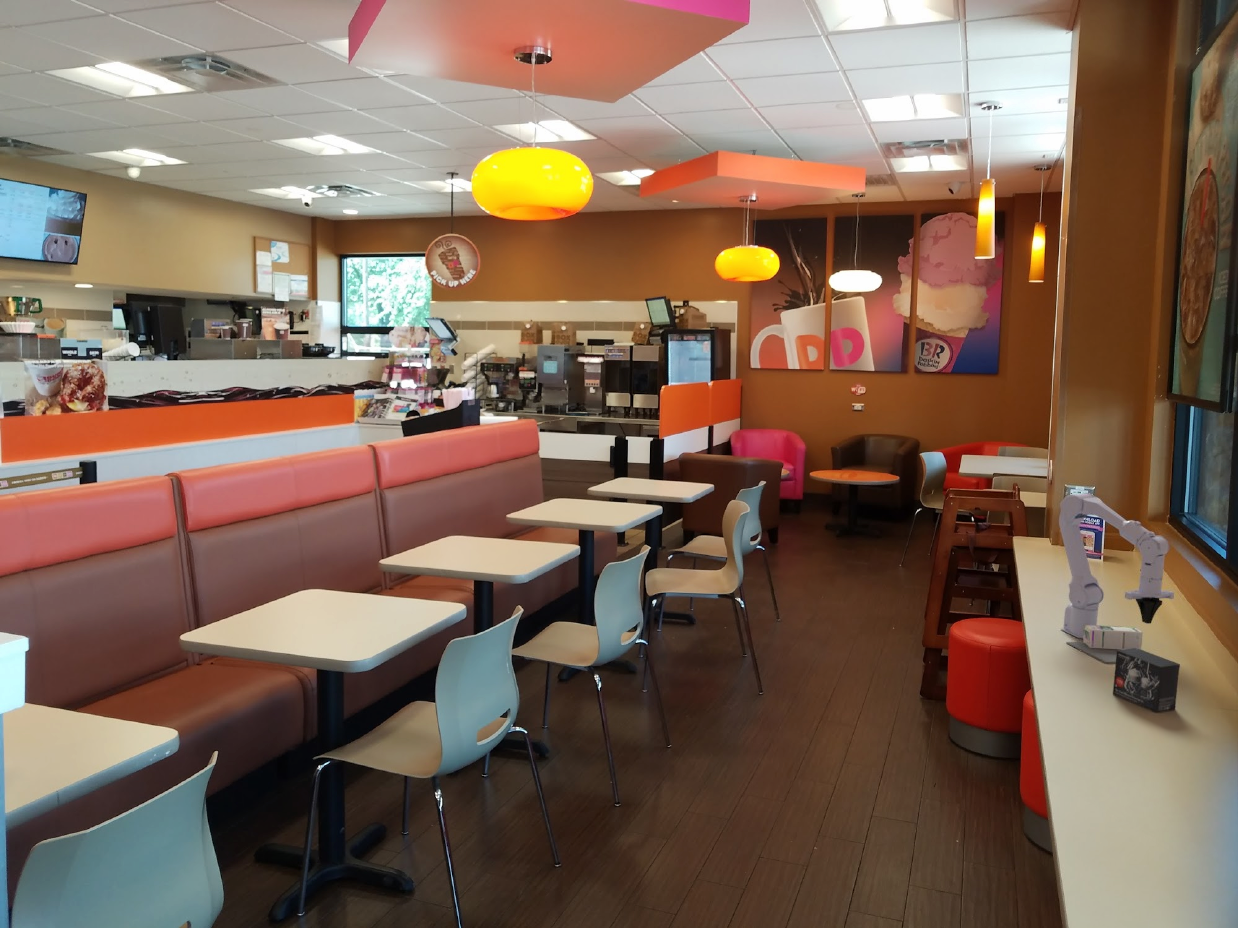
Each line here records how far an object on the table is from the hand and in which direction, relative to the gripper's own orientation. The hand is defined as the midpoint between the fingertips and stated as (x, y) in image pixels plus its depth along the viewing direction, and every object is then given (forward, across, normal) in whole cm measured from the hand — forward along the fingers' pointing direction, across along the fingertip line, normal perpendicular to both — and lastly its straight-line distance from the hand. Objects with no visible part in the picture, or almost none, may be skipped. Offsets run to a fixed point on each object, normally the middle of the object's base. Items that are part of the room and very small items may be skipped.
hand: (1146, 622), depth 278 cm
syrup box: (+6, -1, +1) cm, 6 cm away
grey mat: (+9, -11, 0) cm, 14 cm away
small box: (+9, -29, -37) cm, 48 cm away
